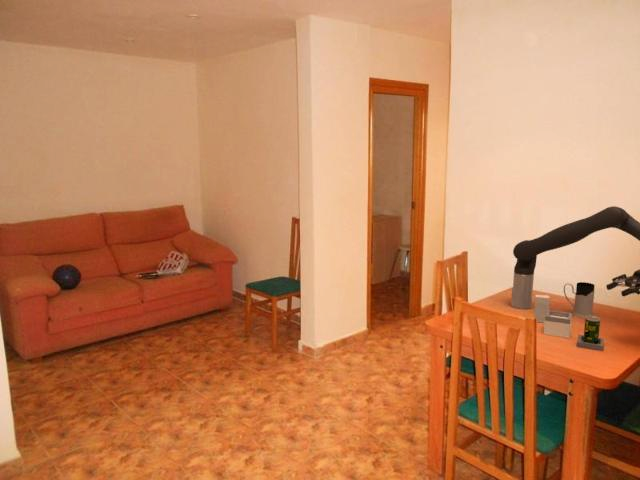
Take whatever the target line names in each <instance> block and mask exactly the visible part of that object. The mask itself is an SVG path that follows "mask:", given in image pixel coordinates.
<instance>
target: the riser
mask: <svg viewBox="0 0 640 480" xmlns="http://www.w3.org/2000/svg"><path fill="white" fill-rule="evenodd" d="M572 321H573V312H572V313H571V312H565V311H559V310H550V309H549V310H548V311H547V314H546V317H545V323H543V325H544V326H543V335H545V336H547V335H548V336H553V337H560V338H567V339H570V337H571V332H572Z"/></svg>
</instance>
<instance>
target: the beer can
mask: <svg viewBox="0 0 640 480" xmlns="http://www.w3.org/2000/svg"><path fill="white" fill-rule="evenodd" d="M600 328H601V317H600V316H599V315H597V314H593V315H586V318H584V330H583V335H584V338H583V341H582V342H586V343H593V344H599V343H598V338H600V337H599V335H600Z"/></svg>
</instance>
